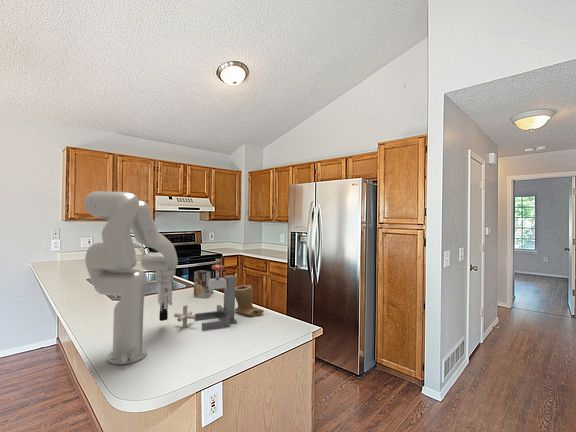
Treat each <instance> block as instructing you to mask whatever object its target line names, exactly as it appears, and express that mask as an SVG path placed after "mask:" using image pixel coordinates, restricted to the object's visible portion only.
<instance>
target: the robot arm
mask: <svg viewBox="0 0 576 432" xmlns="http://www.w3.org/2000/svg"><path fill="white" fill-rule="evenodd" d="M83 204H84V209H85V211H86V212H87V213H88V214H89V215H91V216H92V217H94V218H98V219H102V220H105V221H107V222H106V224H105V225H104V226H103V229H102V231H101V239H102V242H96V243H94V244H93V243H92V244H91V245H90V246H89V247H88V249H87V250H86V253H85V257H84V260H85V266H86V270H87V272H88V275H89V278H90V281H91V283H92V286H93V288H94V290H95V291H96V292H97V294H99V295H105V296H118V297H120V298H119V300H118V302H117V303H116V304H115V306H114V309H113V326H112V327H113V329H112V333H113V334H112V351H111V352H110V353H109V354H108V355H107V362H108V363H110V364H111V365H116V366H117V365H120V366H121V365H122V366H123V365H129V364H134V363H136V362H139V361H140V360H142V359H144V358H145V357H146V356H147V355H148V352H147V349H146V347H143V337H144V335H143V334H144V333H143V331H144V306H145V305H144V303H145V295H146V291H147V287H148V276H147V274H146V273H145V272H144V271H143V270H139V269H134V267H135V266H136V265H137V253H136V249H135V245H134V242H133V237H134V239H135V241H136V242H138V243H139V244H141V245H144V246H146V247H148V248H151V249H154V250H155V251H157V252H147V253H145V254H144V255H143V256H142V257H141V260H140V265H141V268H143V269H144V270H147V271H153V272H154V271H155V281H154V282H155V283H156V284H157V302H158V305H159V317H158V318H159V321H161V322H162V321H168V315H169V314H168V313H169V311H168V308H169V305H170V306H172V305H173V290H172V288H173V287H172V286H173V285H172V283H174V273H175V270H176V268H177V266H178V262H179V260H178V255H177V251H176V248H175V246H174V244H173V243H172V242H171V241H170V240H169V239H168V238H167V237H165V235H163V234H162V233H160V232H159V231H158V229H157V226H156V223H155V220H154V217H153V214H152V212H151V209H150V206H149V204H148V203H147V202H145V201H143V200H139V198H138V196H137V195H136V194H134V193H132V192H127V191H126V192H125V191H105V190H104V191H102V190H101V191H99V190H97V191H91V192H90V193H88V194H87V195H86V196H85V198H84V202H83ZM132 234H133V237H132Z"/></svg>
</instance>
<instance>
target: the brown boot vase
mask: <svg viewBox="0 0 576 432" xmlns="http://www.w3.org/2000/svg"><path fill="white" fill-rule="evenodd" d="M253 298H254V288H253V287H252V285H251V284H248V285H245V284H243V285H239V286H235V302H236V303H237V307H235V313H238V314H242V315H245V316H249V317H258V316H260V315H262V314H264V312H265V310H264V309H261V308H257V307H256V306H253Z"/></svg>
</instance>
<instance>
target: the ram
mask: <svg viewBox="0 0 576 432" xmlns="http://www.w3.org/2000/svg"><path fill="white" fill-rule="evenodd" d="M224 267H225V266H224V264H213V265H211V270H212V271H213V270H214V271H215V272H216V273H215V278H211V279H209V280H208V287H209V288H210V294H211V295H212V294H214V290H216V289H217V290H219V289H224V288H226V279H225V277H220V271H222V270H224V269H225V268H224Z"/></svg>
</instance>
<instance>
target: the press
mask: <svg viewBox="0 0 576 432" xmlns="http://www.w3.org/2000/svg"><path fill="white" fill-rule="evenodd" d="M224 279H226V288H223V306H222V305H220V304H217V305H216V310H214V311H206V312H197V313H194V315H196V318H195V319H194V321H196V322H197V321H203V320H211V319H217V320H214V321H207V322H201V331H202V332H206V331H212V330H218V329H224V328H225V329H226V328H229V327H230V326H231V325H235V324H237V323H238V320H236V318H235V313H236V311H235V309H236V307H235V306H236V298H235V288H236V281H237V280H236V276H235V275H233V274H231V275H224Z"/></svg>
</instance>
